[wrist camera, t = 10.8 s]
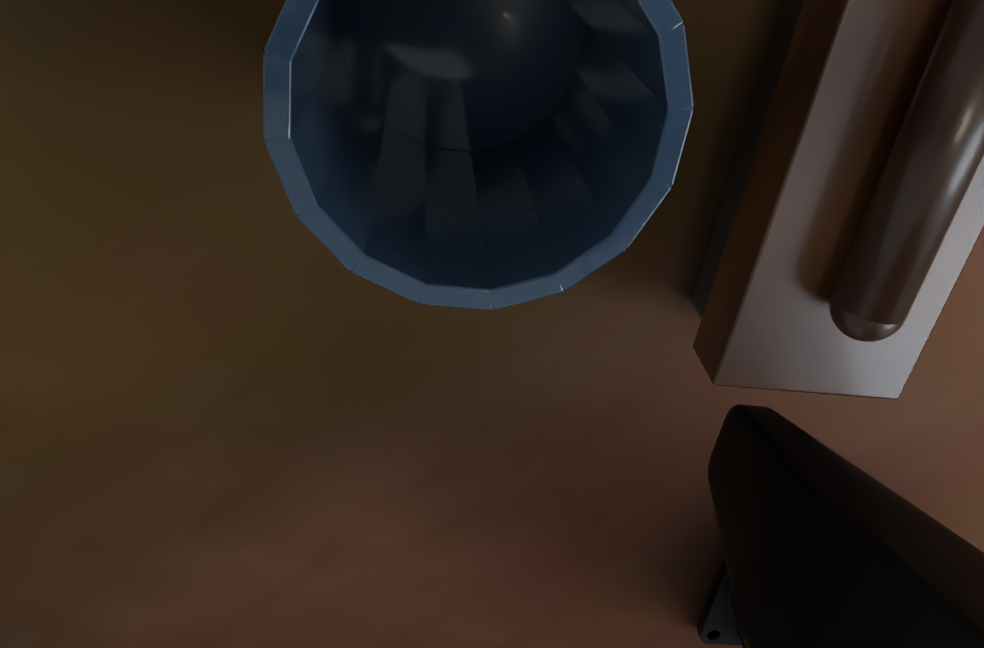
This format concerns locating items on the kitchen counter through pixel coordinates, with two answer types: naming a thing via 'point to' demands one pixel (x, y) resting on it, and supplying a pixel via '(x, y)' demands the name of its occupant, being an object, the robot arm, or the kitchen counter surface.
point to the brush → (848, 198)
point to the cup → (476, 137)
